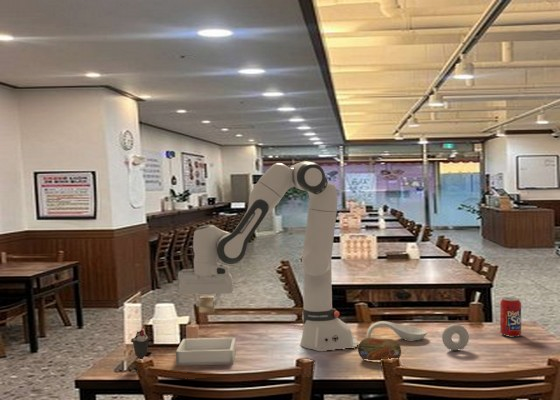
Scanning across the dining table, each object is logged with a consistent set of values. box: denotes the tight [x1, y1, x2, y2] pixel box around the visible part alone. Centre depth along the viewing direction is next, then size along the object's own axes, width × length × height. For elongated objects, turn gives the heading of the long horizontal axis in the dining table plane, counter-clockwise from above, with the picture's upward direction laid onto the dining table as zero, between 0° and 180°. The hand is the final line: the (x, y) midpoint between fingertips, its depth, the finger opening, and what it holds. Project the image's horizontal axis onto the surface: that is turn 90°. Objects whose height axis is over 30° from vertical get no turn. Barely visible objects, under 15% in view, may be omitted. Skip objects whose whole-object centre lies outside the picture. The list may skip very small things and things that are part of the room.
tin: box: [357, 337, 402, 361], centre depth 203 cm, size 15×3×8 cm, turn 68°
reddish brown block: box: [185, 323, 200, 339], centre depth 230 cm, size 5×5×7 cm
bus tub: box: [175, 337, 237, 367], centre depth 211 cm, size 20×16×5 cm
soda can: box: [499, 296, 522, 337], centre depth 231 cm, size 8×8×15 cm
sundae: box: [130, 326, 151, 360], centre depth 202 cm, size 7×7×15 cm
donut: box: [441, 323, 470, 351], centre depth 213 cm, size 10×4×10 cm, turn 95°
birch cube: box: [198, 295, 215, 314], centre depth 214 cm, size 5×5×5 cm
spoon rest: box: [366, 320, 428, 341], centre depth 229 cm, size 24×12×7 cm, turn 87°
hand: (206, 305), depth 214 cm, fingers closed on birch cube, 5 cm apart
